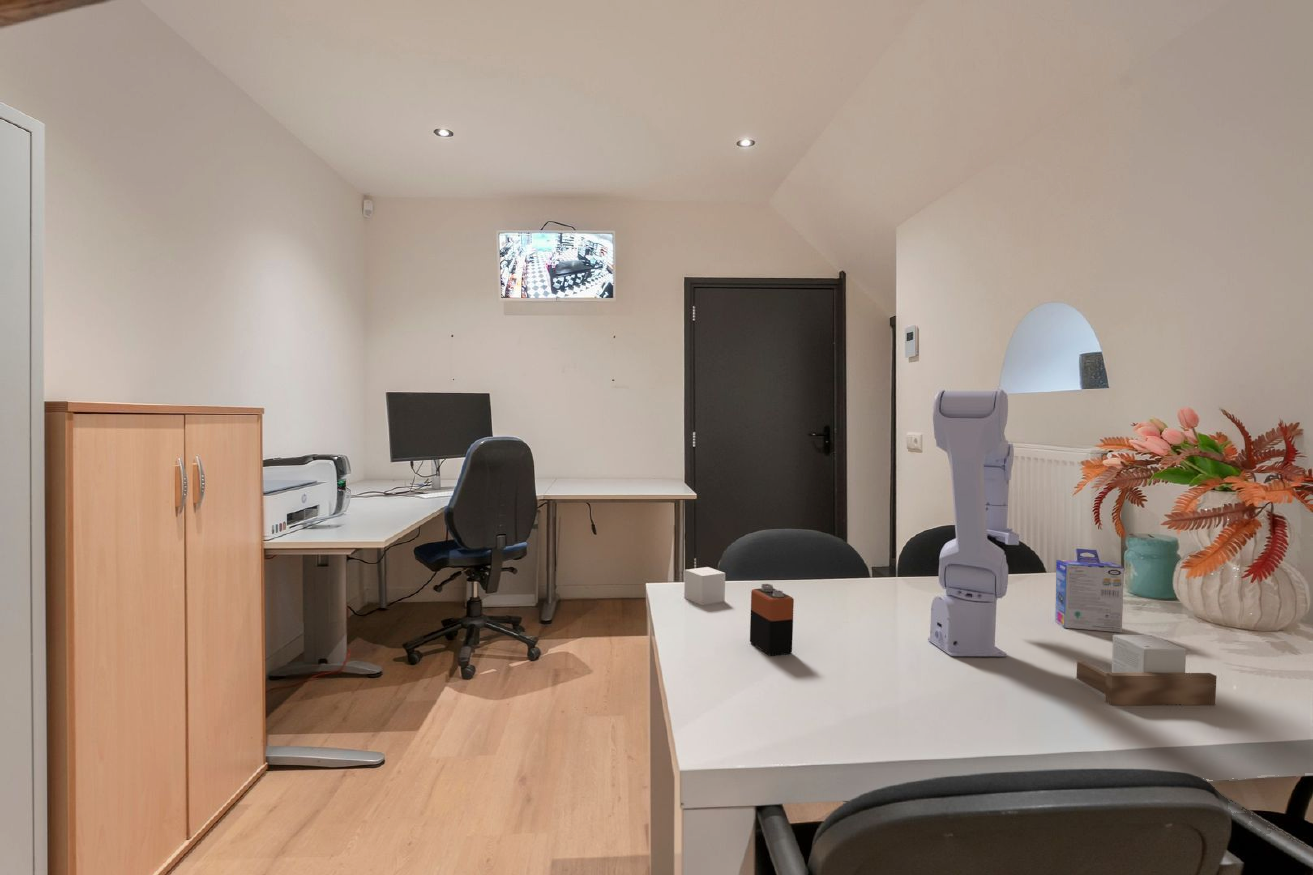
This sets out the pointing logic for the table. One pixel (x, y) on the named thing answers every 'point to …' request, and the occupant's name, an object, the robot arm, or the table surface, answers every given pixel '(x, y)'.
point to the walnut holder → (1150, 687)
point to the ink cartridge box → (1089, 593)
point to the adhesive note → (704, 585)
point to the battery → (771, 620)
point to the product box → (1146, 655)
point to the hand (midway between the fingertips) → (987, 576)
